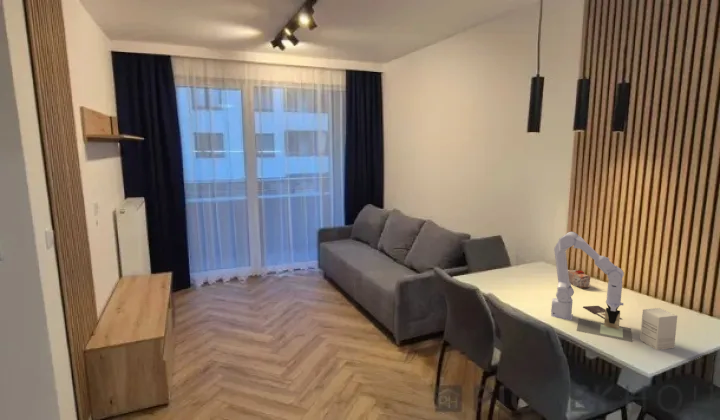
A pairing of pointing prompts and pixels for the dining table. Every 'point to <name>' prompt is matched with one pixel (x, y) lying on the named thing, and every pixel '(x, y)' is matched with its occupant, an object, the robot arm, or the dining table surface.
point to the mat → (604, 330)
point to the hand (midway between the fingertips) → (611, 320)
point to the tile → (607, 324)
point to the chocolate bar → (597, 310)
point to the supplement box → (658, 328)
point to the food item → (579, 278)
